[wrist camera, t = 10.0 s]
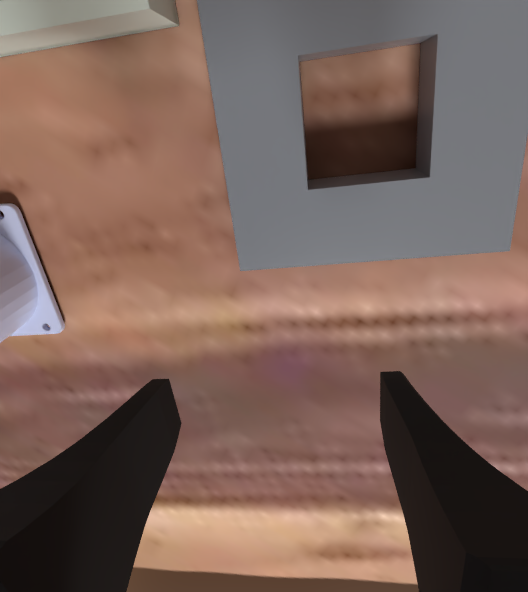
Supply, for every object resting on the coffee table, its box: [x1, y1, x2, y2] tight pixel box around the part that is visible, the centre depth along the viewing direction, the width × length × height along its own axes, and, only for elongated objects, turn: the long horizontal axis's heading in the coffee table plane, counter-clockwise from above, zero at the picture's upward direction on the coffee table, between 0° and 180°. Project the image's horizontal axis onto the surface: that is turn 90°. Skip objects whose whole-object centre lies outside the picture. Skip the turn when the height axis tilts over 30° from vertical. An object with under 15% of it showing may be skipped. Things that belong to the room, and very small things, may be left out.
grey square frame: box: [197, 0, 528, 271], centre depth 17 cm, size 12×12×2 cm
